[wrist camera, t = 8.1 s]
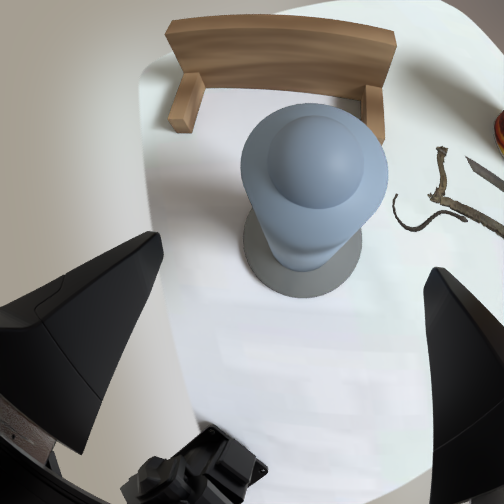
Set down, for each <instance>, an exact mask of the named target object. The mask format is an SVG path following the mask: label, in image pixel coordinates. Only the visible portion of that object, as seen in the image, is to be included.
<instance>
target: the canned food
mask: <svg viewBox="0 0 504 504" xmlns="http://www.w3.org/2000/svg"><path fill="white" fill-rule="evenodd" d="M493 132H494V137H495V141H496V144H497V146H498V148H499V150H500V153H501V154H502V156H503V157H504V110H503V111H502V113H501V114H500V115H499V116H498V117H497V118H496V119H495V121H494V125H493Z"/></svg>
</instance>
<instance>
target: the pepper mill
mask: <svg viewBox="0 0 504 504" xmlns="http://www.w3.org/2000/svg"><path fill="white" fill-rule="evenodd" d="M241 177H242V181H243V185H244V188H245V190H246V193H247V195H248V198H249V200H250V202H251V204H252V207H253V209H254V211H255V214H256V216H257V218H258V221H259V223H260V225H261V228H262V230H263V232H264V235H265V237H266V239H267V242H268V244H269V247H270V249H271V251H272V253H273V255H274V257H275V258H276V260H277V261H278V262H279V263H280V264H281V265H283V266H284V267H286V268H287V269H290V270H293V271H296V272H309V271H313V270H316V269H318V268H320V267H321V266H323V265H324V264H325V263H326V262H327V261H328V260H329V259H330V258H331V257H332V256H333V255H334V254H335V253H336V252H337V251H338V250H339V249H340V248H341V247H342V246H343V245H344V244H345V243H346V242H347V241H348V240H349V239H350V238H351V237H352V236H353V235H354V234H355V233H356V232H357V231H358V230H359V229H360V228H361V227H362V226H363V225H364V224H365V223H366V221H367V220H368V219H369V218H370V217H371V216H372V215H373V214H374V213H375V212H376V210H377V209H378V207H379V206H380V204H381V202H382V200H383V198H384V196H385V192H386V189H387V184H388V165H387V160H386V156H385V153H384V151H383V148H382V146H381V144H380V142H379V141H378V139H377V137H376V136H375V135H374V134H373V132H372V131H371V130H370V129H369V128H368V127H367V126H366V125H365V124H364V123H363V122H362V121H360V120H359V119H358V118H356V117H355V116H353V115H352V114H350V113H348V112H346V111H344V110H342V109H339V108H336V107H333V106H329V105H324V104H317V103H305V104H296V105H292V106H288V107H285V108H282V109H280V110H278V111H276V112H273V113H272V114H270V115H269V116H267V117H266V118H265V119H263V120H262V121H261V122H260V123H259V124H258V125H257V126H256V127H255V128H254V129H253V131H252V132H251V134H250V135H249V137H248V139H247V141H246V143H245V145H244V148H243V151H242V156H241Z"/></svg>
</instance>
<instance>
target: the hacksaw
mask: <svg viewBox="0 0 504 504" xmlns="http://www.w3.org/2000/svg"><path fill="white" fill-rule="evenodd" d="M436 150H438V152H437V153H438V154H437V161H438V166H439V171H440V184H439V188H437V187H436V191H435V193H434V194H433V195H432V194H431V192H430V194H427V195H428V197H429V196H430V197H431V198H430V197H429V198H430V201H432V202H435V203H440V205H442V206H446V207H450V209H452V210H454V211H456V212H458V213H460V214H462V215H464V216H466V217H468V218H470V219H472V220H474V221H476V222H478V223H480V222H481V223H482V224H483V226H486V227H487V228H488V229H490V230H491V231H493V232H496V233H497V235H499V236H501V237H503V238H504V226H503V225H502V224H500V223H498V222H497V221H495V220H493V219H492V218H490V217H488V216H486V215H485V214H483V213H481V212H479V211H477V210H475V209H473V208H471V207H469V206H467V205H464V204H461V203H460V202H458V201H454V200H452V199H451V198H449V197H443V196H444V195H445V190H446V186H447V177H446V173H445V170H444V165H443V163H444V157H445V156H446V154H447V151H448V148H445V147H443V146H442V147H437V148H436ZM465 157H466V156H465ZM466 158H467V160H468V163H469V164H470V166H471V168H472V170H473V171H474V172H475V173H477V174H478V175H480V176H481V177H483V178H484V179H486V180H487V181H489V182H490V183H492V184H493V185H495V186H496V187H497V188H499V189H500V190H502V191H503V192H504V181H503V180H502V179H500V178H499V177H497V176H496V175H494V174H493V173H491V172H490V171H488V170H487V169H485V168H484V167H482V166H481V165H479V164H478V163H476V162H475V161H473V160H471V159H469V158H468V157H466ZM397 196H398V194H396V195H395V197H394V199H393V205H392V207H393V213H394V215H395V218H396V219H397V220H398V222H399V223H400V225H401V226H402V227H403V228H405V229H406V230H409V231H412V232H417V231H420V230H422V229H423V228H425V227H426V225H428V224H429V223H430V222H431V221H432V219H434V218H435V217H437V216H438V215H440V214H441V213H442V214H450V215H452V216H454V217H456V218H458V219H460V220H461V221H462V222H468V220H467V219H466V218H465V217H464V216H460V215H458V214H456V213H453V212H451V211H447V210H441V211H437V212H436V213H434V215H432V216H431V217H430V218H428V219H427V220H426V221H425V222H424V223H423V224H422V225H420V226H419V227H417V228H416V227H413V228H412V227H409V226H406V225H405V224H403V223H402V221H400V220H399V218H398V217H397V215H396V212H395V207H394V204H395V199H396V198H397Z"/></svg>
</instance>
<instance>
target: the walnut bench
mask: <svg viewBox="0 0 504 504" xmlns="http://www.w3.org/2000/svg"><path fill="white" fill-rule="evenodd" d="M165 36H166V38H167V40H168V42H169V44H170V46H171V48H172V50H173V52H174V54H175V56H176V58H177V60H178V62H179V64H180V66H181V68H182V70H183V72H184V75H183V77H182V80H181V83H180V85H179V88H178V91H177V93H176V96H175V99H174V102H173V104H172V107H171V110H170V113H169V116H168V121H169V122H170V124H171V125H172V127H173V128H174V129H175V131H176V132H177V133H192V131H193V128H194V124H195V121H196V117H197V114H198V111H199V107H200V104H201V101H202V98H203V95H204V91H205V88H250V89H270V90H283V91H294V92H304V93H313V94H321V95H328V96H335V97H341V98H348V99H353V100H359V101H361V121H362V122H363V123H364V124H365V125H366V126H367V127H368V128H369V129H370V130H371V131H372V132H373V134H374V135H375V136H376V137H377V139H378V141H379V142H380V144H381V146H382V144H383V142H384V140H385V125H384V107H383V93H382V87H383V84H384V82H385V79H386V76H387V73H388V70H389V68H390V65H391V62H392V59H393V56H394V53H395V50H396V47H397V44H396V39H395V35H394V31H391V30H387V29H382V28H378V27H373V26H369V25H363V24H358V23H353V22H347V21H340V20H333V19H325V18H316V17H306V16H293V15H270V14H269V15H268V14H244V15H220V16H207V17H197V18H188V19H180V20H172V22H171V24H170V25H169V27H168V29H167V31H166V33H165Z"/></svg>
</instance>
